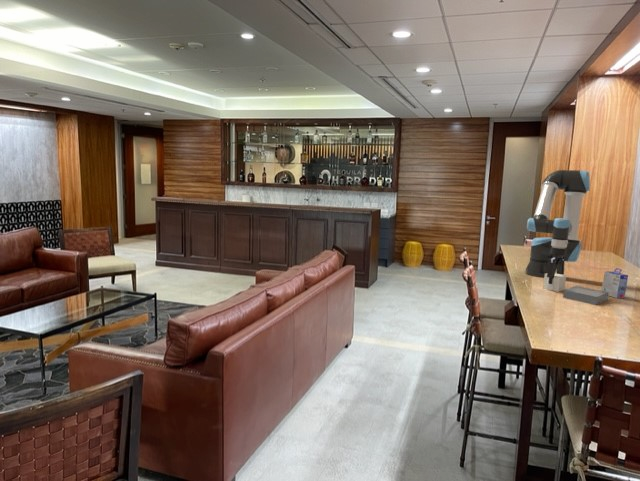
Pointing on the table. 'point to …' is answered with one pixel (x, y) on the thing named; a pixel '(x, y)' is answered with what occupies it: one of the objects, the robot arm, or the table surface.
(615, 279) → the ink cartridge box
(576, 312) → the table surface
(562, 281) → the cream cube
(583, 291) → the charcoal riser
